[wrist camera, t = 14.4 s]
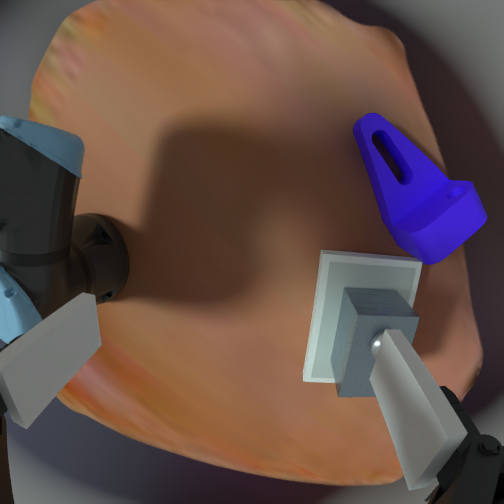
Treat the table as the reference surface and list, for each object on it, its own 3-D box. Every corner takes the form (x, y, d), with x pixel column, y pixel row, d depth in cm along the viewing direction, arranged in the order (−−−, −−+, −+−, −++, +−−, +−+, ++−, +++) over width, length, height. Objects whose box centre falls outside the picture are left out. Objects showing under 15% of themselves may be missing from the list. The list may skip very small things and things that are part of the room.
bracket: (449, 204, 39) (493, 215, 28) (397, 245, 42) (431, 268, 30) (385, 101, 37) (417, 79, 25) (328, 141, 39) (344, 128, 28)
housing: (329, 362, 44) (338, 406, 34) (343, 287, 41) (360, 319, 31) (377, 363, 43) (395, 404, 34) (396, 290, 40) (423, 321, 30)
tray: (302, 372, 48) (303, 382, 45) (320, 249, 43) (323, 254, 40) (386, 374, 47) (390, 382, 44) (415, 257, 42) (422, 262, 39)
